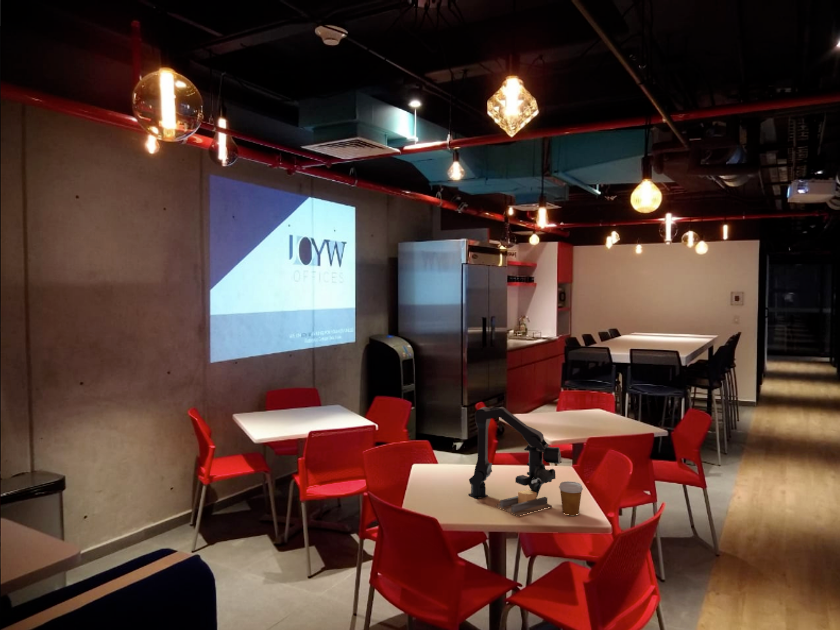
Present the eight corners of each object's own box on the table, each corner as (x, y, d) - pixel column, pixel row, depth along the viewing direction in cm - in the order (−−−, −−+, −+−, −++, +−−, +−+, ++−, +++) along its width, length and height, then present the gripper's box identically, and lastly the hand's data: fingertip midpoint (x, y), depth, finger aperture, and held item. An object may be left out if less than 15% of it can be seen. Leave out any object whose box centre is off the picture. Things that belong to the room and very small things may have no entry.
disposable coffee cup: (585, 512, 242) (586, 483, 242) (578, 519, 235) (578, 489, 234) (563, 507, 248) (563, 479, 248) (555, 514, 240) (555, 485, 240)
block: (518, 503, 250) (518, 491, 250) (528, 500, 253) (528, 489, 253) (526, 506, 246) (526, 495, 246) (536, 504, 249) (536, 492, 249)
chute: (495, 506, 249) (495, 498, 249) (528, 498, 260) (528, 490, 259) (518, 516, 237) (518, 508, 237) (551, 507, 248) (551, 499, 248)
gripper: (533, 469, 240) (533, 506, 240) (565, 462, 250) (564, 498, 251) (514, 462, 249) (514, 499, 250) (546, 456, 260) (545, 491, 260)
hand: (535, 497), depth 252 cm, fingers closed
